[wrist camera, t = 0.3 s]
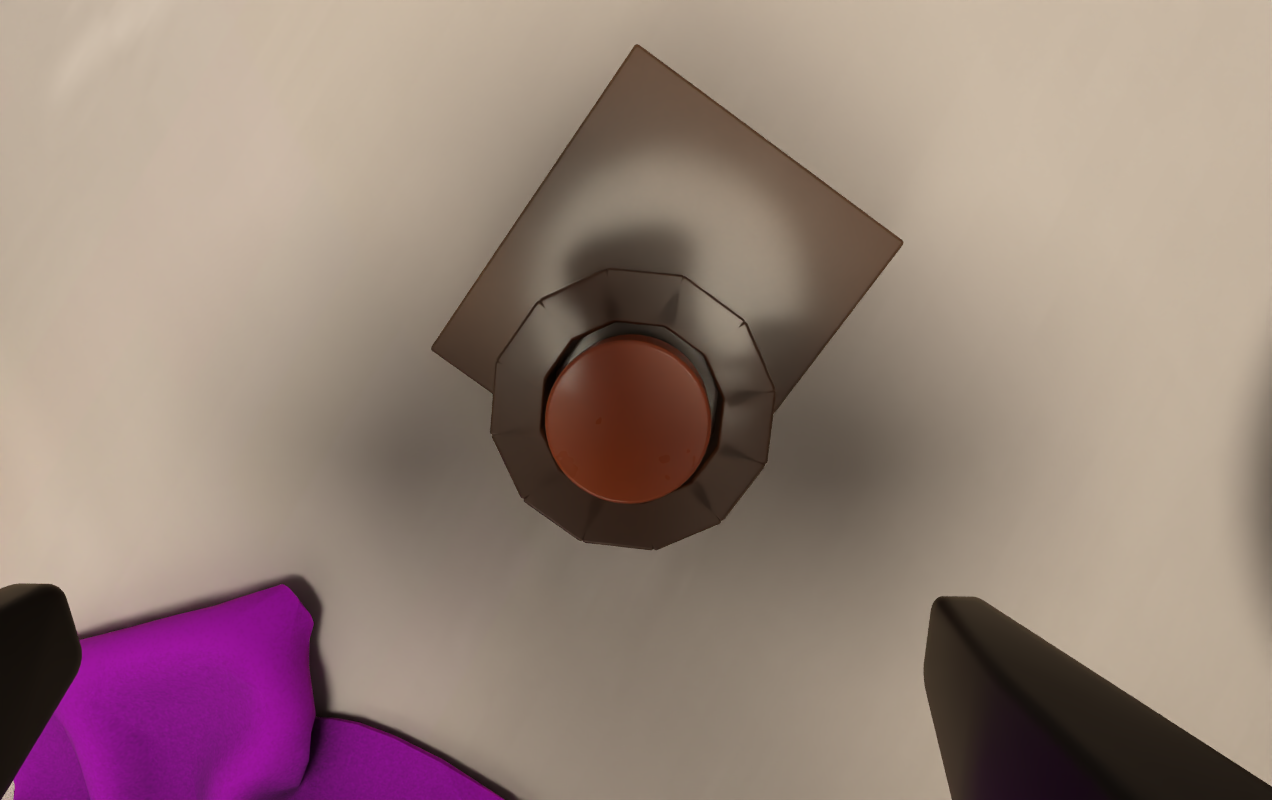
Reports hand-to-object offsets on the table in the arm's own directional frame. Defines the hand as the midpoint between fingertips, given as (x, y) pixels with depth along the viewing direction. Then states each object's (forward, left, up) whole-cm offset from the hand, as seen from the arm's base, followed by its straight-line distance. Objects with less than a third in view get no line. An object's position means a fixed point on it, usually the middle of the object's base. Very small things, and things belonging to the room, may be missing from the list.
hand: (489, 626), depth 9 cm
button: (+1, 0, -11) cm, 11 cm away
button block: (+3, +1, -15) cm, 15 cm away
